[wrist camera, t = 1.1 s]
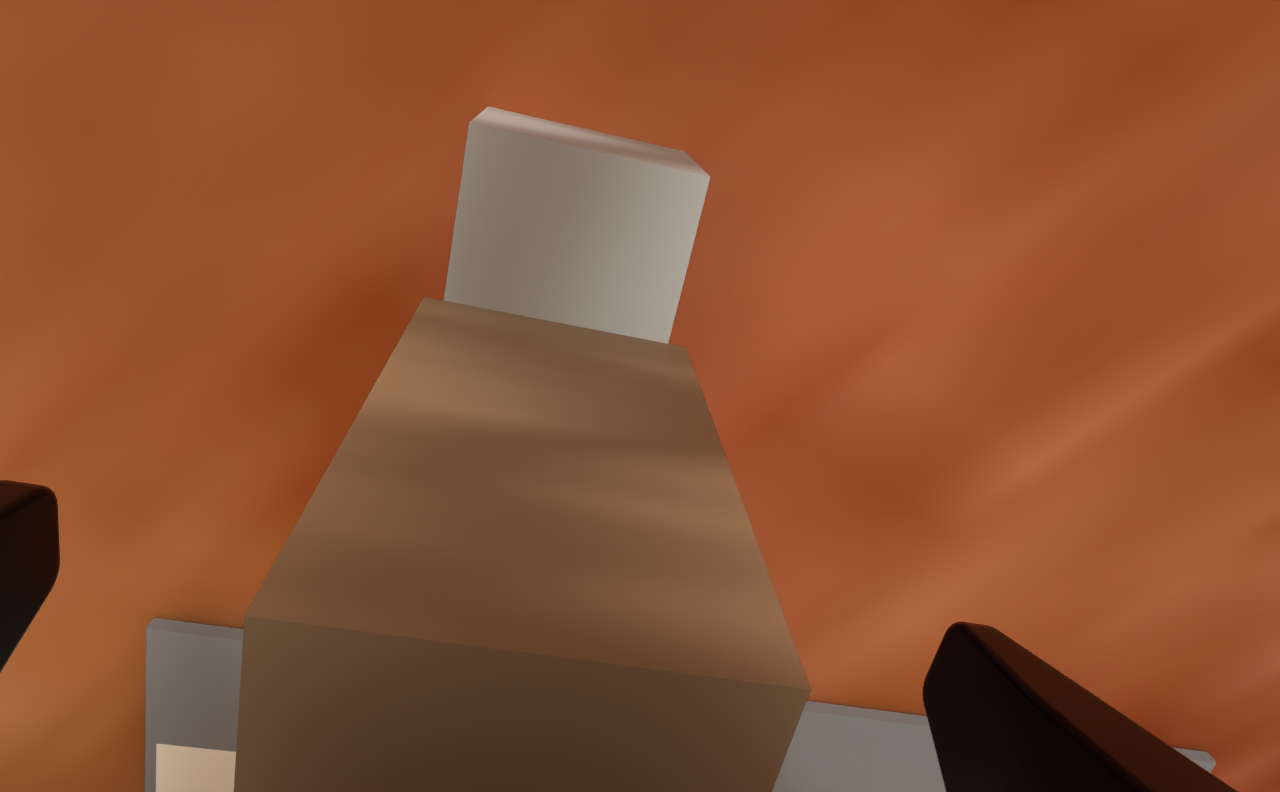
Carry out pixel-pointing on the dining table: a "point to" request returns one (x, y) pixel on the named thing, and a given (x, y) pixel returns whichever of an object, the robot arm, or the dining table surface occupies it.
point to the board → (209, 703)
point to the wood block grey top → (530, 520)
